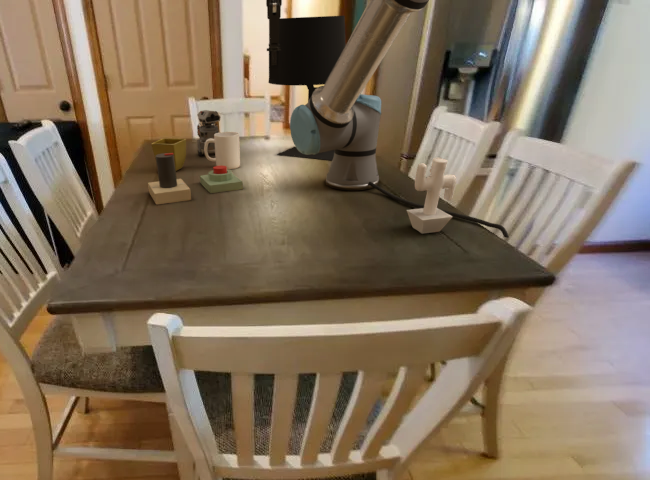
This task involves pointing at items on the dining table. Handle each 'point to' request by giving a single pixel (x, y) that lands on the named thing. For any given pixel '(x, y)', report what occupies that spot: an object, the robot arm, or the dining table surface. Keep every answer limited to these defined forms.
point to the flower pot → (171, 149)
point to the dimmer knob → (166, 170)
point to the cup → (225, 149)
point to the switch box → (221, 182)
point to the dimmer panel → (169, 192)
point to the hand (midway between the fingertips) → (273, 78)
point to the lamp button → (220, 169)
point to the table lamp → (309, 58)
